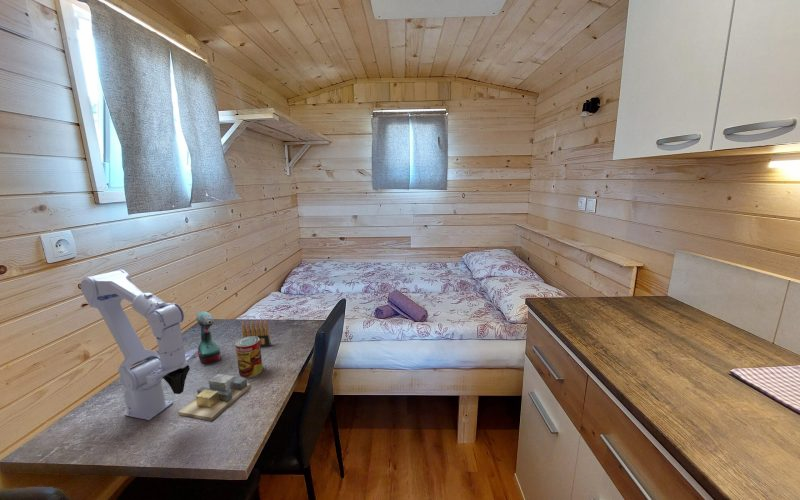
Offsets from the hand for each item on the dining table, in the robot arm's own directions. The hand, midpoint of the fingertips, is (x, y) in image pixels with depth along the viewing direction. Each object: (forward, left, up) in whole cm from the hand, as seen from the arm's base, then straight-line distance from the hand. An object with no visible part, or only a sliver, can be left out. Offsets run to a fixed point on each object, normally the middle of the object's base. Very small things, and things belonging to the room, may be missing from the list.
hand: (178, 392), depth 95 cm
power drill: (-18, +30, -10) cm, 36 cm away
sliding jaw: (+2, +8, -8) cm, 12 cm away
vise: (+2, +11, -9) cm, 14 cm away
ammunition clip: (-8, +44, -10) cm, 46 cm away
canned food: (+2, +27, -10) cm, 29 cm away
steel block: (+2, +13, -8) cm, 16 cm away
